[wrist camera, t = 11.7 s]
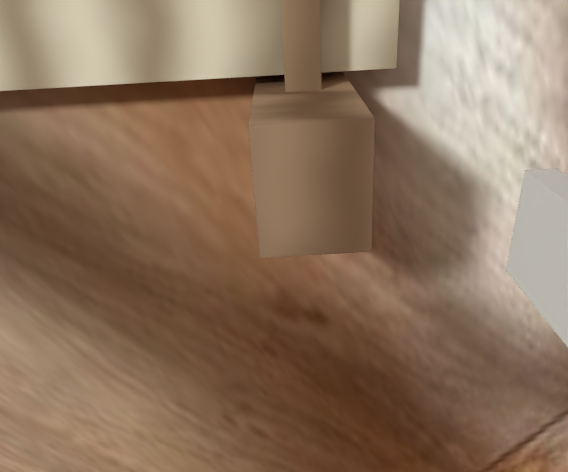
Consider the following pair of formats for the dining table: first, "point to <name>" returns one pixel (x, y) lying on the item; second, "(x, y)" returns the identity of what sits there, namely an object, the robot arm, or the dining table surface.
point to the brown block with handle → (310, 150)
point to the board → (178, 40)
